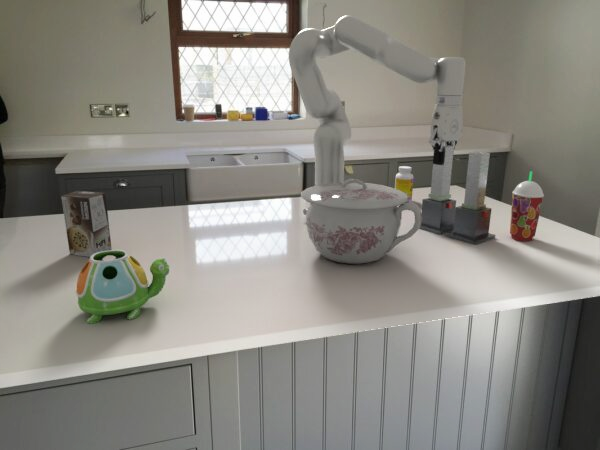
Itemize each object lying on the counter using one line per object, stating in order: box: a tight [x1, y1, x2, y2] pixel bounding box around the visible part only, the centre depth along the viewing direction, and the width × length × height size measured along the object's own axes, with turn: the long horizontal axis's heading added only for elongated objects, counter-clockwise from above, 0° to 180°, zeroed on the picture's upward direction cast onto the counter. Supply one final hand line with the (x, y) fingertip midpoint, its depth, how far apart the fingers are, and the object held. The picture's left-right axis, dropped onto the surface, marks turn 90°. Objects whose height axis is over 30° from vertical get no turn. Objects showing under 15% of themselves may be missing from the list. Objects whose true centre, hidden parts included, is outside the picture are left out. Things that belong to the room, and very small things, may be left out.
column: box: [427, 143, 455, 203], centre depth 153 cm, size 5×5×18 cm
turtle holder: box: [75, 249, 170, 324], centre depth 101 cm, size 12×18×12 cm
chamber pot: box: [300, 178, 422, 265], centre depth 130 cm, size 28×28×21 cm
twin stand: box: [445, 150, 496, 245], centre depth 145 cm, size 10×10×25 cm
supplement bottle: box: [394, 165, 414, 203], centre depth 189 cm, size 7×7×13 cm
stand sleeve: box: [419, 197, 457, 235], centre depth 156 cm, size 10×10×9 cm
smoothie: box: [509, 171, 545, 242], centre depth 145 cm, size 8×8×20 cm
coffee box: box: [61, 190, 113, 258], centre depth 131 cm, size 9×6×16 cm
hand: (442, 163), depth 152 cm, fingers closed on column, 4 cm apart
